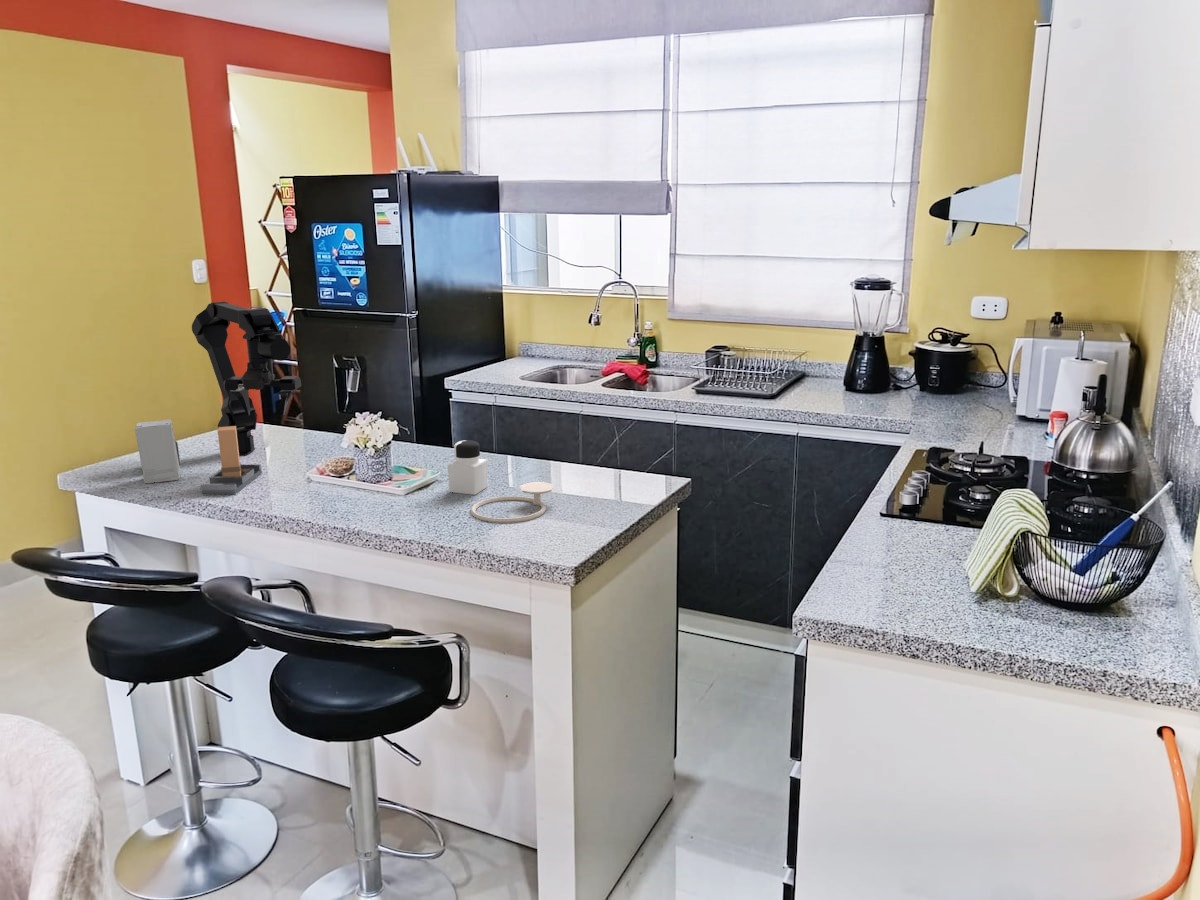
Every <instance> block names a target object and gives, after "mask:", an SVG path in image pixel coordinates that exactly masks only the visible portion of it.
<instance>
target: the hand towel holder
mask: <svg viewBox="0 0 1200 900" xmlns="http://www.w3.org/2000/svg"><path fill="white" fill-rule="evenodd" d="M555 487H556V486H555V485H554V484H552V483H550V482H546V481H545V482H543V481H533V482H532V481H531V482H527V483H523V484H522V485H520V486H519V487H518V488H519V489H520V490H521V491H522V492H523V493H524V494H530V495H533V497H528V496H522V495H521V496H520V495H506V496H496V497H491V498H487V499H484V500H480V501H479V502H476V503H475V504H473V505H472V507H471V510H470V513H471V516H473V517H474V518H475V517H476V518H475V519H477V520H481V521H483V522H487V521H488V522H489V523H498V524H512V523H513V524H514V523H522V522H528V521H531V520H533V519H536V518H539V517H541V516H542V515H543V514H544V513H545V512H546V507H547V506H546V505H545V504H544V502H543V501H542V500H541V499H542V498H541V497H542V496H541V495H542V494H547V493H550V492H551V491H552V490H553V489H554V488H555ZM505 501H522V502H527V503H532V504H533V505H534V506H539V507H540V510H538V511H536V512H535V513H532V514H529V515H524V516H519V517H518V516H517V517H510V518H509V517H507V518H506V517H503V518H502V517H501V518H498V517H489V516H484V515H481V514H480V513H479V514H478V513H477V512H476V510H477V509H478V508H480V507H481V506H483V505H486V504H491V503H494V502H495V503H496V502H505ZM488 522H487V523H488Z"/></svg>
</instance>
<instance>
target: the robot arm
mask: <svg viewBox="0 0 1200 900" xmlns="http://www.w3.org/2000/svg"><path fill="white" fill-rule="evenodd" d="M270 311H271V310H269V309H268V308H266V307H264V308H263V307H261V308H247V307H242V306H239V305H235V304H232V303H229V302H228V301H227V302H226V301H213V302H210V303H208V304H207V306H206V307H205V308H204V310H202V311H201V312H199V313H198V314H197V315H195V318H194V320H193V321H192V323H191V331H192V333H193V335H194V337H195V339H196V341H197V344H199V346H201V347H202V348H203V349H205V351H207V354H208V356H209V360H210V363H211V365H212V366H211V367H212V369H213V372H214V375H215V377H216V380H217V384H218V386H219V389H220V392H221V395H222V397H223V401H222V406H221V410H220V412H221V418H220V420H218V421H219V422H218V424H217V429H218V428H219V427H228V426H236V431H237V440H238V449H239V456H247V455H249V454H251V453H252V452H253V451H254V450H256V448H255V442H254V441H255V440H254V435H252V431H254V430H256V429H257V420H258V419H257V418H258V414H257V410H256V408H255V406H254V403H253V400H252V398H251V397H250V394H249V391H250V390H256V391H261V390H262V389H264V388H265V387H267V388H268V387H269V388H271V387H273V388H274V387H279V389H281V390H279V391H278V393H279V395H280V412H281V416H284V415H285V414H286V410H287V408H288V404H289V401H290V398H291V396H292V394H293V392H294V391H296V390H297V389H299V388H300V387H302V380H301V377H299V375H296V376H295V375H286V376H283V377H281V378H280V379H275V378H276V374H274V369H273V368H274V367H273V364H274V361H280V362H283V361H285V360H286V359H287V358H289V356H290V353H291V345H290V344H289V342H288V341H287V340H286V339H284V338H283V335H282V333H281V331H280V327H279V326H278V323H277V322H276V320H275V318H274V316H273V314H272V313H271V312H270ZM231 323H234V324H237V325H238V328H239V329H241V330H242V331H243V332H245V333H244V334H243V335H242V339H243V340H246V347H247V356H248V362H247V363H246V364H247V365H246V367H247V368H246V371H245V372H244V374H243V375H242V376H236V373H235V370H234V367H233V364H232V361H231V358H230V355H229V353H228V350H227V347H226V344H227V340H228V335H229V334H228V329H229V326H230V325H231Z"/></svg>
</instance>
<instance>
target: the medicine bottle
mask: <svg viewBox="0 0 1200 900" xmlns="http://www.w3.org/2000/svg"><path fill="white" fill-rule="evenodd" d="M480 446H481V445H480V443H479V442H478V441H475V440H470V439H469V440H464V439H463V440H459V441H457V442H455V444H454V446H453V448H454V449H453V450H454V460H453V461H451V462H450V463H448V464H447V474H448V475H447V476H448V477H447V478H448V491H449V493H452V492H453V493H454V494H462V495H463V494H464V495H471V496H475V495H477V494H479V493H480V492H482V491H483V490H485V489H486V488H488V486H489V483H488V481H489V479H488V478H489V477H488V460H487V459H486V458H481V451H480ZM453 493H452V494H453Z"/></svg>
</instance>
